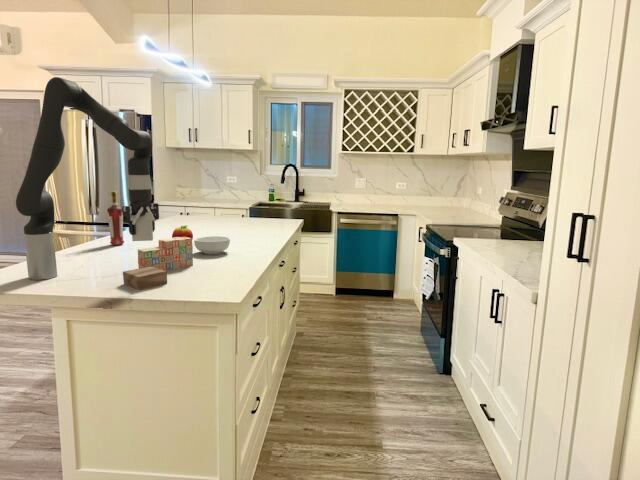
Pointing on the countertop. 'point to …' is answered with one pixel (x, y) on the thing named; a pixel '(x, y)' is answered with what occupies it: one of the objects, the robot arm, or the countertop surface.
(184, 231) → the fruit
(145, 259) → the stack of blocks
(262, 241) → the countertop surface
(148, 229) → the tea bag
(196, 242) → the cereal bowl
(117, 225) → the liquor
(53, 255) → the robot arm
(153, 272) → the walnut block
